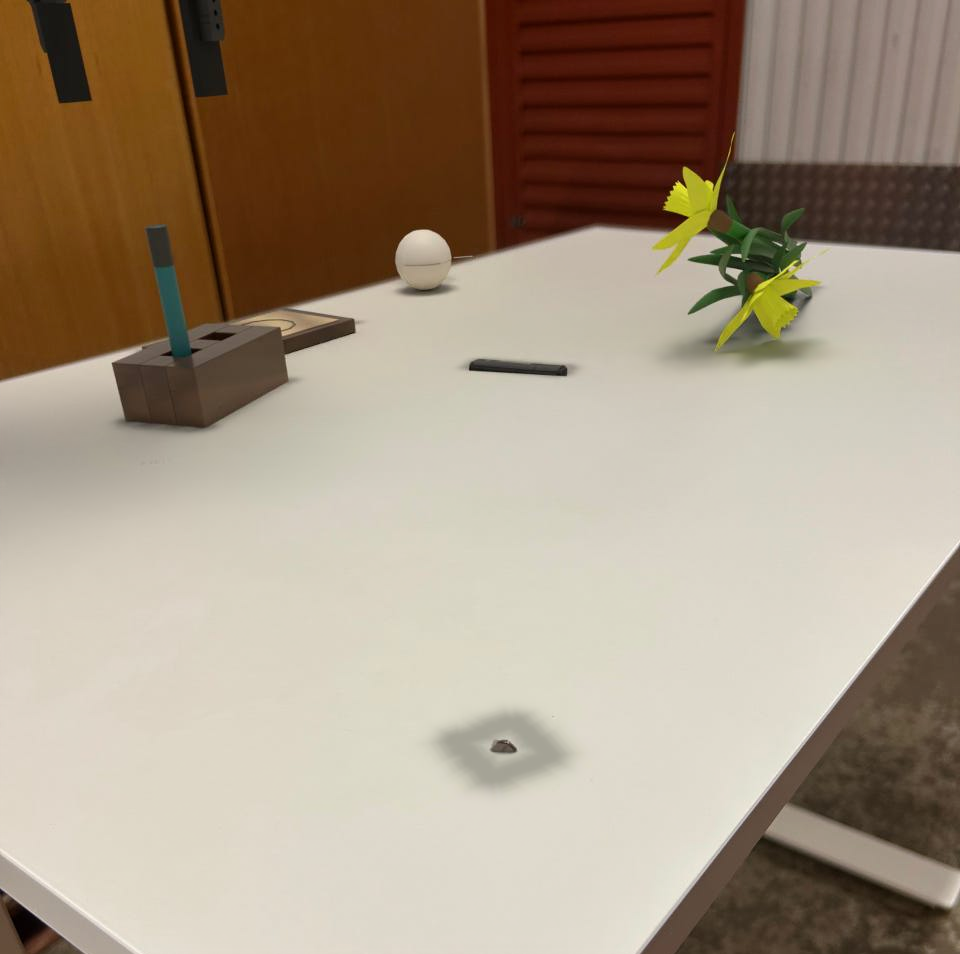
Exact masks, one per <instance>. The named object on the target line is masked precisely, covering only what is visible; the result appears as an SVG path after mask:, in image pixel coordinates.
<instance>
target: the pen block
mask: <svg viewBox="0 0 960 954" xmlns="http://www.w3.org/2000/svg"><path fill="white" fill-rule="evenodd" d="M187 333H188V338H189V343H190V348H191V353H192V354H191V355H189V356H187V357H174V356H172V351H171V347H170V342H169V338H167V339H164V340H165V341H164V340H162V341H163V342H160V341H159V342H160V343H158V344H155V345H153V346H151V347H148V348H146V349H143V350H142V349H141V350H139V351H136V352H133V353H132V354H129V355H127V356H124V357H123V358H120V359H117V360H115V361H112V362H111V366H112V371H113V375H114V379H115V384H116V387H117V391H118V395H119V396H118V397H119V400H120V405H121V408H122V412H123V413H122V414H123V416H124V420H125V421H124V422H131V423H140V424H141V423H142V424H154V425H164V426H165V425H166V426H175V427H177V426H178V427H186V428H187V427H189V428H199V429H206V428H208V427H210V426H212V425H214V424H215V423H217V422H219V421H221V420H222V419H224V418H226V417H228V416H230V415H231V414H234V413H235V412H237V411H239V410H240V409H242V408H244V407H245V406H248V405H250V404H251V403H253V402H255V401H256V400H258V399H260V398H261V397H264V396H265V395H267V394H269V393H270V392H272V391H274V390H276V389H277V388H280V387H281V386H283V385H285V384H286V383H288V382H289V381H290V380H289V373H288V368H287V367H288V366H287V360H286V354H285V353H284V346H283V340H282V333H281V327H272V326H249V325H230V324H226V323H209V322H208V323H206V322H205V323H203V324H201V325H198V326H196V327H194V328H192V329H189V330H187Z"/></svg>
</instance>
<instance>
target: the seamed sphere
mask: <svg viewBox="0 0 960 954" xmlns="http://www.w3.org/2000/svg"><path fill="white" fill-rule="evenodd" d="M473 257H474V256H473V255H465V256H464V258H473ZM460 258H462V256H454V257H452V253H451V249H450V246H449V245H448V243H447V242H446V240H445V239H444V238H443V237H442V236H441V235H440V234H439V233H437V232H435V231H432V230H431V229H416V230H412V231H411V232H409V233H408V234H406V235H405V236H404V237H403V238H402V239H401V241H400V242H399V244H398V246H397V248H396V252H395V261H394V263H395V267H396V271H397V273H398V275H399V276H400V278H401V280H403V282H405V283H406V285H408V286H409V287H411V288H414V289H416V290H418V291H428V290H433V289H435V288H436V287H438V286H440V285H442V284H443V282H444V281H446V279H447V278H448V276H449V273H450V270H451V269H452V268H451V267H452V260H453V259H460Z"/></svg>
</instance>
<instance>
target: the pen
mask: <svg viewBox="0 0 960 954" xmlns="http://www.w3.org/2000/svg"><path fill="white" fill-rule="evenodd" d="M168 229H169V228H168V225H167V224H152V225H147V226H145V228H144V231H145V234H146V239H147V245H148V248H149V254H150V259H151V263H152V267H153V269H154V275H155V280H156V284H157V289H158V293H159V298H160V303H161V309H162V313H163V318H164V322H165V323H164V324H165V327H166V331H167V337H168V339H169V342H170V347H171V351H172V356H174V357H187V356H189V355H191V354H192V353H191V348H190V343H189V338H188V333H187V331H188V330H187V329H188V328H187V324H186V323H187V322H186V319H185V318H186V317H185V314H184V309H183V304H182V303H183V302H182V297H181V293H180V288H179V284H178V278H177V273H176V267H175V260H174V254H173V250H172V244H171V239H170V234H169V230H168Z"/></svg>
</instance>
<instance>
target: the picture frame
mask: <svg viewBox="0 0 960 954" xmlns="http://www.w3.org/2000/svg"><path fill="white" fill-rule="evenodd" d="M225 324H230V325H249V326H272V327H281V333H282V340H283V346H284V353H285V355H287V354H290V353H292V352H296V351H299V350H302V348H303V349H306V348H309V347H312V346H315V345H318V343H319V344H321V342H322V343H324V341H325V342H328V341H331V340H334V338H335V339H338V338H341V337H344V336H348V335H351V334H353V332H354V333H356V332H357V331H356V330H357V329H356V321H355V318H352V317H347V316H339V315H333V314H327V313H321V312H314V311H308V310H302V309H295V308H290V307H282V308H278V309H273V310H270V311H266V312H263V313H259V314H256V315H252V316H249V317H244V318H241V319H237V320H234V321H230V322H226V323H225ZM350 333H351V334H350ZM337 337H338V338H337ZM165 340H166V339H164V340H161V341H156V342H152V343H149V344H145V345H142V346H141V350H143V349H146V348H148V347H151V346H153V345H155V344H158V343H160V342H163V341H165ZM286 353H287V354H286Z"/></svg>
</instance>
